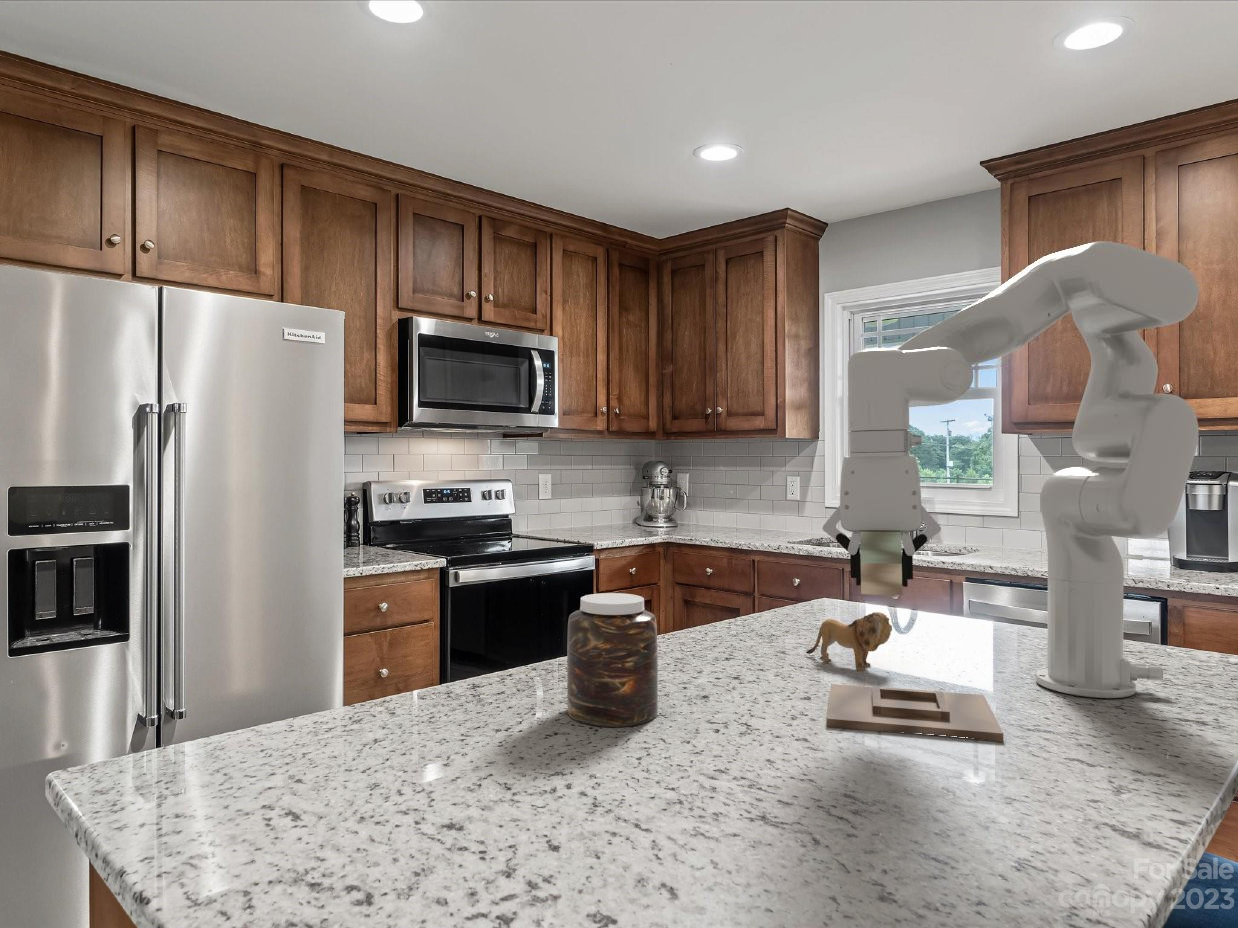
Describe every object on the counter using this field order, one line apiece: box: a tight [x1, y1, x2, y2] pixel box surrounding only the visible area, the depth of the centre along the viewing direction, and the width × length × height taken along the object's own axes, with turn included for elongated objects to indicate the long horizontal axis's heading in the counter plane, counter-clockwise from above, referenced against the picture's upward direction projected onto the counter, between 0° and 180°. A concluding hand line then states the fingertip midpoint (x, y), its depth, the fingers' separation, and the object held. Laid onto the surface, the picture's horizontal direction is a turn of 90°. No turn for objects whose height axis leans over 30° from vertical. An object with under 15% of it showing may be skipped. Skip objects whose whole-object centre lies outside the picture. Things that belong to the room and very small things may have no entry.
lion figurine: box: [805, 611, 893, 671], centre depth 132 cm, size 15×5×9 cm, turn 47°
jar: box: [566, 592, 659, 728], centre depth 108 cm, size 12×12×15 cm
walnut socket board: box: [826, 683, 1004, 743], centre depth 107 cm, size 20×16×2 cm
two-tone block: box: [859, 531, 903, 596], centre depth 108 cm, size 5×5×8 cm
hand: (881, 583), depth 108 cm, fingers closed on two-tone block, 5 cm apart
